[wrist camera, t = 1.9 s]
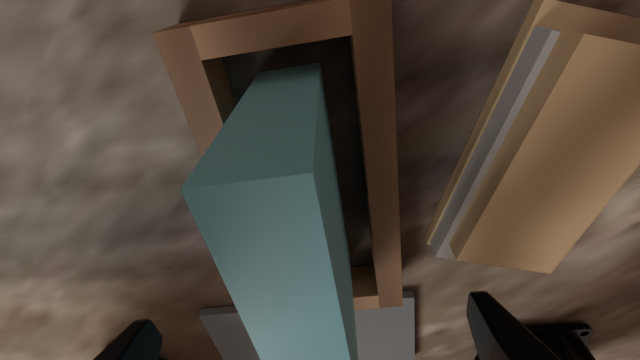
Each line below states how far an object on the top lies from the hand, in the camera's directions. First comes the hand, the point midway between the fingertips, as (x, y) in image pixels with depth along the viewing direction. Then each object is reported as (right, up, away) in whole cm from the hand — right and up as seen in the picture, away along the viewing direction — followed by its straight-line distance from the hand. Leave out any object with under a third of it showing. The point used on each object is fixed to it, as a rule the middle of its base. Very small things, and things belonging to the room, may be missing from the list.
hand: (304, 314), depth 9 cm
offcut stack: (+9, +5, +5) cm, 12 cm away
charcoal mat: (0, -6, +12) cm, 14 cm away
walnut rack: (0, +4, +6) cm, 7 cm away
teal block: (0, +4, +6) cm, 7 cm away
